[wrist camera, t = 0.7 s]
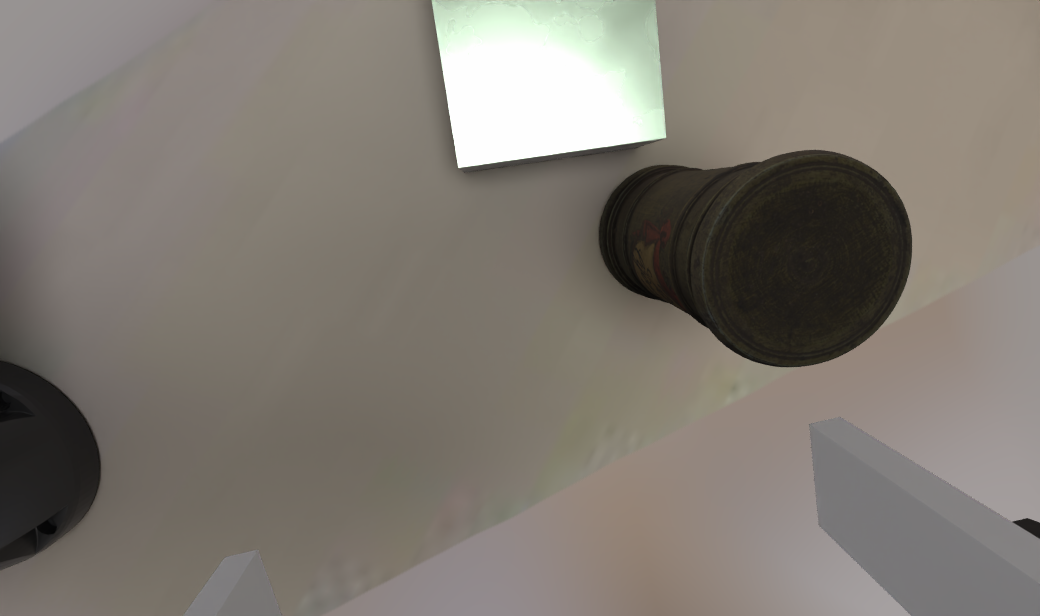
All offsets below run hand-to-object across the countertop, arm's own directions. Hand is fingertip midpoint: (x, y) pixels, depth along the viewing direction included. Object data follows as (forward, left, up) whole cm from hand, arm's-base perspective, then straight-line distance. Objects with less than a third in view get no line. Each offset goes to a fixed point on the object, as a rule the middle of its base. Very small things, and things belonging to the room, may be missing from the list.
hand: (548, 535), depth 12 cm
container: (+11, +4, -26) cm, 29 cm away
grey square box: (+4, +16, -26) cm, 31 cm away
